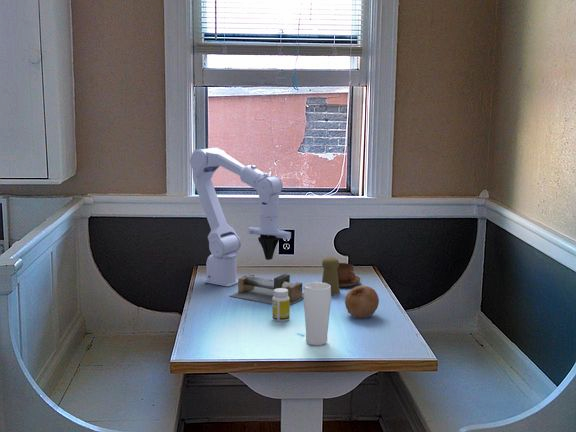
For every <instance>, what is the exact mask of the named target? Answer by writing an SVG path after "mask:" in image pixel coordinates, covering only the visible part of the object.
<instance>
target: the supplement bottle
mask: <svg viewBox="0 0 576 432" xmlns="http://www.w3.org/2000/svg"><path fill="white" fill-rule="evenodd" d="M271 306H272V307H271V308H272V309H271V311H272V314H271V315H272V320H273V321H275V322H280V323H282V322H287V321H289V320H290V315H291V314H290V311H291V310H290V307H291V305H290V298H289V296H288V289H285V288H277V289H274V296H273V298H272V304H271Z"/></svg>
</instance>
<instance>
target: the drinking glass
mask: <svg viewBox="0 0 576 432" xmlns="http://www.w3.org/2000/svg"><path fill="white" fill-rule="evenodd" d="M303 293H304V298H303V308H304V310H303V311H304V321H305V322H304V323H305V341H306V343H307V344H308V345H310V346H314V347H321V346H324V345H327V343H328V334H329V333H328V332H329V325H330V324H329V323H330V313H331V306H332V305H331V303H332V295H331V286H330V285H329V284H327V283H323V282H322V281H313V282H312V281H311V282H307V283H305V284H304V286H303Z"/></svg>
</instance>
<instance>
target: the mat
mask: <svg viewBox="0 0 576 432" xmlns="http://www.w3.org/2000/svg"><path fill="white" fill-rule="evenodd" d="M273 296H274V290H271V289H266V288H260V287H254V289H252V290H250V291H248V292H246V293H244V294H242V293H238V292H235V293H233V294H230V295H229V297H230V298H235V299H241V300H245V301H246V300H247V301H251V302H257V303H263V304H267V305H272V298H273ZM301 300H304V292H302V298H300V299H298V300H296V301H294V302H292V303H291V302H290V306H292V305H294V304H295V303H298V302H300V301H301Z"/></svg>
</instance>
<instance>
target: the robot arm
mask: <svg viewBox="0 0 576 432" xmlns="http://www.w3.org/2000/svg"><path fill="white" fill-rule="evenodd" d="M188 161H189V163H190V167H191V169H192V170H191V171H192V180H193V183H194V185H195V189H196V191H197V194H198V197H199V200H200V203H201V205H202V208H203V211H204V214H205V216H206V219H207V222H208V224H209V228H210V232H209V233H208V235H207V240H208V248H209V249H208V250H209V251H210V253H211V254H210V255H209V256H208V257H207V259H206V265H205V266H206V267H205V268H206V269H205V270H206V274H205V275H206V276H205V277H206V280H205V281H204V282H205V283H207V284H212V285H218V286H223V287H231V286H234V285H236V284H238V279H239V278H237V273H238V271H237V267H238V266H237V256H238V251H239V250H240V249H241V247H242V240H241V238H240V237H239V235H238V234H237V232H236V231H235V229H234V227H232V226H231V225H229V224H228V222H227V220H226V217H225V214H224V212H223V209H222V206H221V203H220V201H219V198H218V194H217V192H216V189H215V187H214V184H213V181H212V177H213V175H214V174H215V172H216V171H217V170H218V169H219V168H220V167H222V168H224V169H226V170H228V171H229V172H232V173H233V174H236V175H238V176H239V178H240V179H239V180H240V181H241V182H242V183H244V184H246V185H248V186H249V187H251V188H253V189H254V190H256V193H257V194H258V200H259V206H260V207H259V227H258V226H250V227H247V235H258V237H257V241H258V243H259V244H260V246H261V248H262V251H263V255H264V257H265V258H264V259H265V260H267V261H270V260H273V257H274V255H275V250H276V247H277V245H278V243H279V241H280V239H283V240H290V239H292V232H291V231H287V230H286V231H285V230H282V229H279V213H280V212H279V211H280V210H279V207H280V204H279V203H280V201H279V200H280V193H281V192H282V190H283V182H282V180H281V179H280V178H279V177H278V176H277V175H271V176H270V175H269V173H268V172H263V171H262V170H260V169H258V168H257V167H258V166H257V165H254V164H252V165H251V164H248V165H244V164H242V163H241V162H240V161H238V160H236V159H235V158H234V157H232V156H231V155H229V154H228V153H226V151H225V150H223V149H221V148H219V147H216V146H214V147H209V148H202V149H201V148H200V149H199V148H196V149H194V150H193V151H192V152H191V155H190V158H189V160H188Z"/></svg>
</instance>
